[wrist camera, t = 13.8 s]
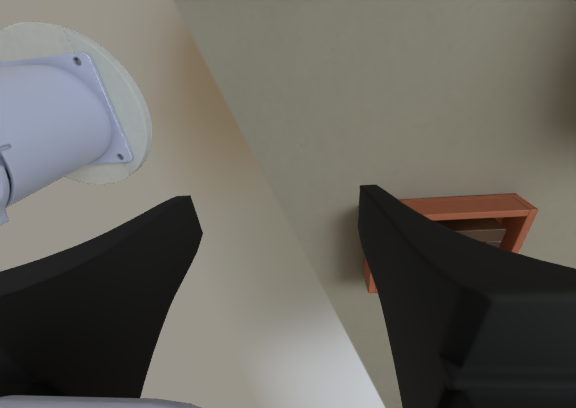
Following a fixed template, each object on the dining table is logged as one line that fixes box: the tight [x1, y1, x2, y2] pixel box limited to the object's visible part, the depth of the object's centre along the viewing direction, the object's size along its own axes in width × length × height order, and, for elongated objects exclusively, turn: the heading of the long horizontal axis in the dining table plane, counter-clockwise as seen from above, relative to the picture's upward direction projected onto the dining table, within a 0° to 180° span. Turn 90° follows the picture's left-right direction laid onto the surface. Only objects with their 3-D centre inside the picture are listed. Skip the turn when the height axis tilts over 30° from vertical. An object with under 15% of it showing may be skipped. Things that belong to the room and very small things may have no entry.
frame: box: [433, 218, 506, 248], centre depth 23 cm, size 9×6×2 cm, turn 96°
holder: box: [364, 193, 538, 293], centre depth 23 cm, size 12×9×2 cm
